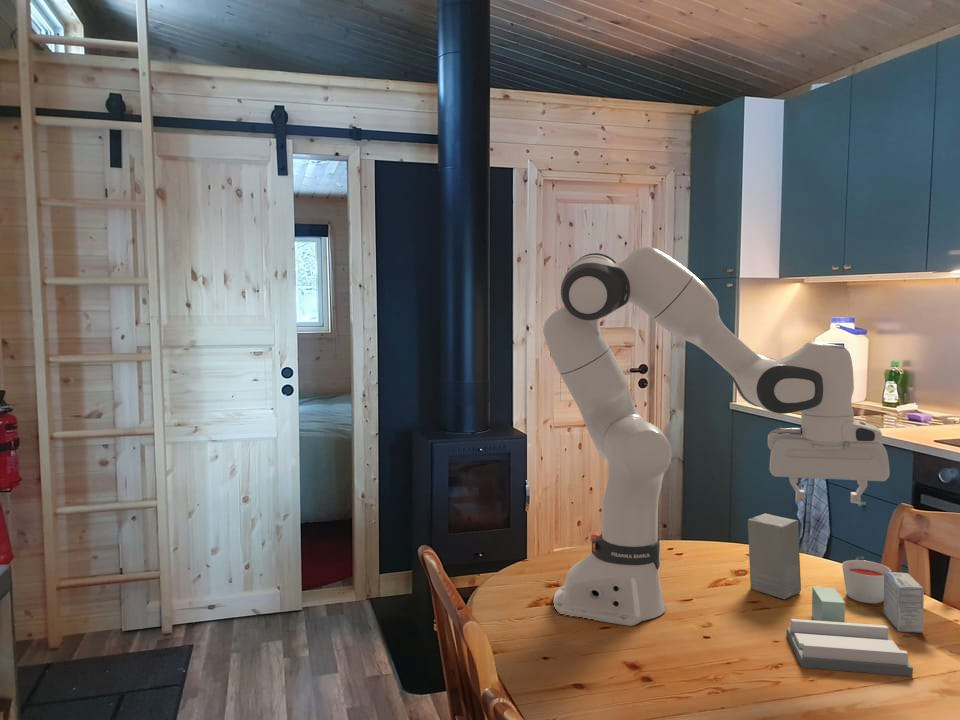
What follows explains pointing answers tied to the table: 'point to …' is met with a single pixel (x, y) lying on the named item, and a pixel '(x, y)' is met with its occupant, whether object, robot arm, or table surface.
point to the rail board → (847, 647)
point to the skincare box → (774, 555)
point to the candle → (864, 580)
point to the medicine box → (903, 602)
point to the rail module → (827, 605)
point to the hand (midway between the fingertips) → (827, 501)
